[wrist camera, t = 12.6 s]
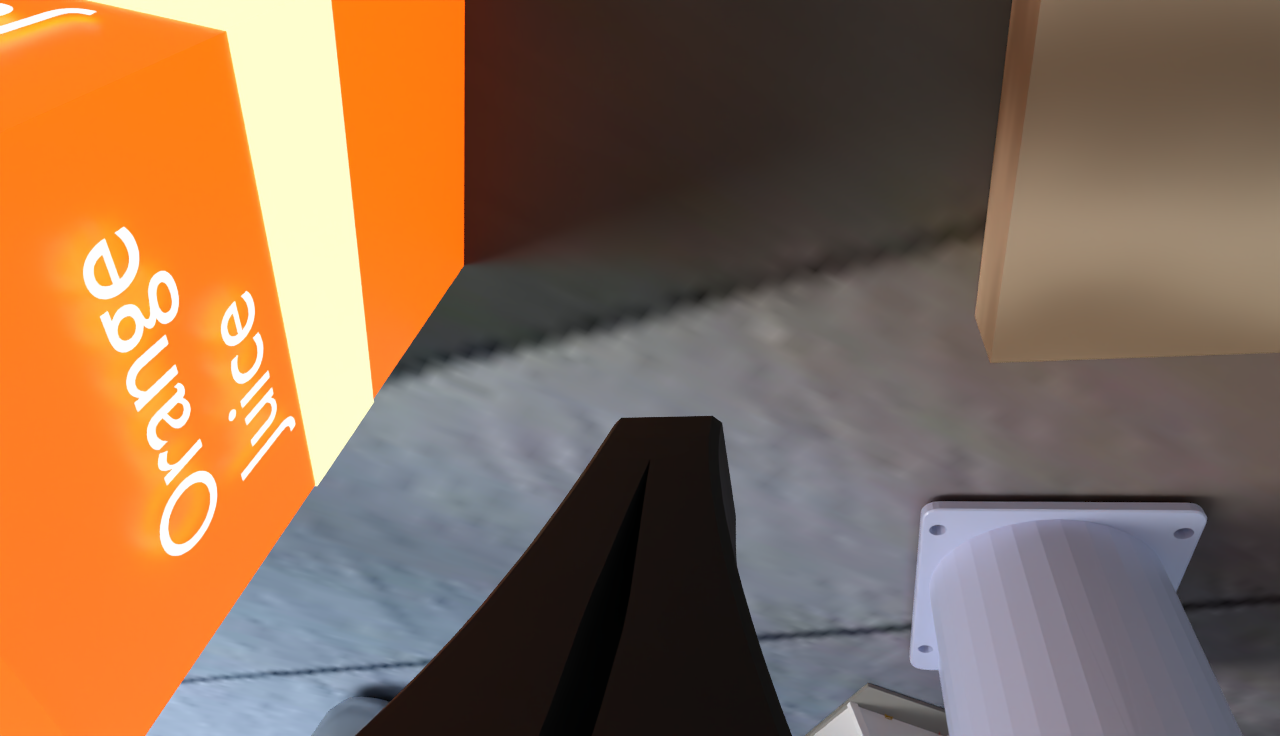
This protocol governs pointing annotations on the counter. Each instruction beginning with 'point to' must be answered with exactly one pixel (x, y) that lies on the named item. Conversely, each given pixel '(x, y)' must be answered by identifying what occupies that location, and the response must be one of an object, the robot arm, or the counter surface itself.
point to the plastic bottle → (349, 716)
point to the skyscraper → (883, 716)
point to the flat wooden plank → (1135, 182)
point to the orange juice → (196, 308)
